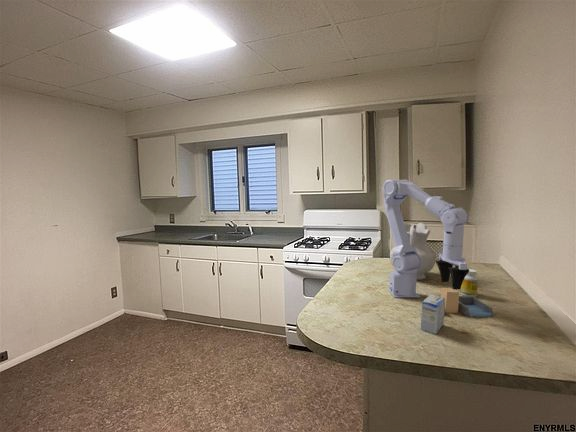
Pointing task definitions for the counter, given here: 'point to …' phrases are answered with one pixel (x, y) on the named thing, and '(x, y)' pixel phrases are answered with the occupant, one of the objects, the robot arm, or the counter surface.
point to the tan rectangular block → (450, 299)
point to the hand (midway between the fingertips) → (450, 285)
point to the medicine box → (432, 313)
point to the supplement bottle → (470, 284)
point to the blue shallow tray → (473, 307)
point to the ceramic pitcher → (420, 247)
